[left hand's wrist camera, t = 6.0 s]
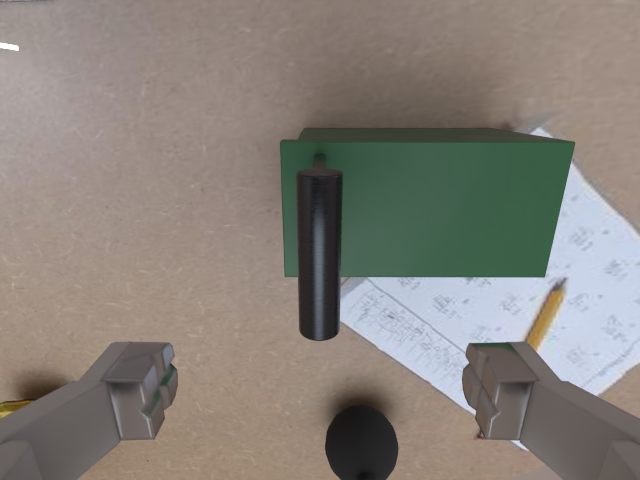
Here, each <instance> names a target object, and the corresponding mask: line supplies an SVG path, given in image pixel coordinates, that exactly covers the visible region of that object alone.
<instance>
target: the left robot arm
mask: <svg viewBox="0 0 640 480" xmlns="http://www.w3.org/2000/svg"><path fill="white" fill-rule="evenodd" d="M9 1H43V0H0V2H9ZM0 48H6V49H13V50H18V46H15V45H9V44H3V43H0ZM174 356H175V355H174V350H173V345H171V344H170V343H165V342H114V343H111V344H110V345H109V347H108V348H107V349H106V350H105V351H104V352H103V354H102V355H101V356H100V357H99V358H98V359H97V360H96V362H95V363H94V364H93V365H92V366H91V367H90V369H89V370H88V371H87V372H86V373H85V374H84V375H83V377H82V378H81V379H80V380H79V381H72V382H70V383H68V384H66V385H64V386H62V387H61V388H59V389H57V390H55V391H53V392H51V393H49V394H47V395H45V396H43V397H41V398H39V399H37V400H35V401H33V402H31V403H30V404H28V405H26V406H24V407H22V408H20V409H18V410H16V411H14V412H12V413H10V414H8V415H6V416H4V417H2V418H1V419H0V480H77V479H78V478H79V477H80V476H81V475H83V474H84V473H85V472H86V471H87V470H88V469H90V468H91V467H92V466H93V465H94V464H95V463H97V462H98V461H99V460H100V459H101V458H102V457H104V456H105V455H106V454H107V453H108V452H109V451H111V450H112V449H113V448H114V447H115V446H116V445H118V444H119V443H120V440H151V439H155V437H156V435H157V433H158V431H159V429H160V427H161V425H162V423H163V421H164V419H165V416H164V410H165V409H167V408H168V407H169V406H171V405H172V403H173V400H174V398H175V395H176V391H177V386H178V374H177V369H176V368H175V367H174V366H173V365H172V364H171V361H172V359H173V358H174ZM465 356H466V358H467V359H468V361H469V364H468V365H467V366H466V367H465V368H464V369H463V375H462V385H463V392H464V395H465V398H466V400H467V403H468V405H469V406H471V407H472V408H473V409H475V410H476V416H475V419H476V421H477V423H478V425H479V427H480V429H481V431H482V433H483V435H484V437H485V439H488V440H520V443H521V444H523V445H524V446H525V447H526V448H527V449H528V450H530V451H531V452H532V453H533V454H534V455H535V456H537V457H538V458H539V459H540V460H541V461H542V462H544V463H545V464H546V465H547V466H548V467H549V468H551V469H552V470H553V471H554V472H555V473H556V474H558V475H559V476H560V477H561V478H562V479H563V480H640V419H639V418H637V417H635V416H633V415H632V414H630V413H628V412H626V411H624V410H622V409H620V408H618V407H616V406H614V405H612V404H610V403H608V402H606V401H605V400H603V399H601V398H599V397H597V396H595V395H593V394H591V393H589V392H587V391H585V390H583V389H581V388H579V387H578V386H576V385H574V384H572V383H570V382H568V381H561V380H560V379H559V378H558V377H557V375H556V374H555V373H554V372H553V371H552V370H551V369H550V367H549V366H548V365H547V364H546V363H545V362H544V360H543V359H542V358H541V357H540V356H539V355H538V354H537V352H536V351H535V350H534V349H533V348H532V347H531V345H530V344H528V343H526V342H506V343H469V344H468V346H467V349H466V355H465Z"/></svg>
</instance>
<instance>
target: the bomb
mask: <svg viewBox="0 0 640 480" xmlns="http://www.w3.org/2000/svg"><path fill="white" fill-rule="evenodd" d="M325 451H326V455H327V458H328V461H329V464H330V466H331V469H332V470H333V472H334V473H335V474H336V475H337V476H338V477H339V478H340V479H341V480H386V479H387V478H388V476H389V475H390V474H391V472H392V471H393V469H394V467H395V465H396V461H397V456H398V442H397V438H396V434H395V431H394V428H393V426H392V425H391V423H390V422H389V421H388V420H387V418H386V417H385V416H384V415H383V414H382V413H380V412H379V411H377V410H375V409H373V408H371V407H367V406H352V407H349V408H347V409H345V410H343V411H342V412H340V413H339V414H338V415H336V417H335V418H334V419H333V421H332V423H331V424H330V426H329V428H328V430H327V435H326V443H325Z"/></svg>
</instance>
